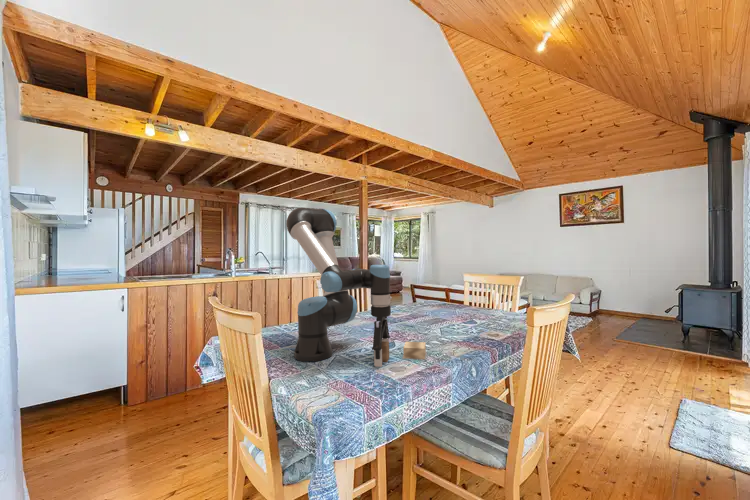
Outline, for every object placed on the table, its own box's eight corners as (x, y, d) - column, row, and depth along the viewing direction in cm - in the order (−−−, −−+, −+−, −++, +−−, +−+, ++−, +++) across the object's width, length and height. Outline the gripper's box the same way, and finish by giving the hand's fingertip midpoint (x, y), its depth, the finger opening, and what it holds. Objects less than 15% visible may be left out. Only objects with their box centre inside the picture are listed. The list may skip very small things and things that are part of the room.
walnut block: (374, 363, 122) (373, 345, 122) (376, 359, 127) (376, 341, 127) (387, 364, 121) (386, 345, 121) (389, 359, 126) (389, 341, 125)
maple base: (403, 358, 125) (403, 347, 125) (405, 351, 133) (405, 341, 133) (424, 359, 123) (424, 348, 123) (425, 352, 131) (425, 342, 131)
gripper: (384, 311, 110) (385, 374, 111) (395, 299, 135) (396, 350, 135) (363, 311, 112) (364, 372, 112) (377, 299, 136) (378, 350, 137)
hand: (381, 360), depth 124 cm, fingers open, 13 cm apart
